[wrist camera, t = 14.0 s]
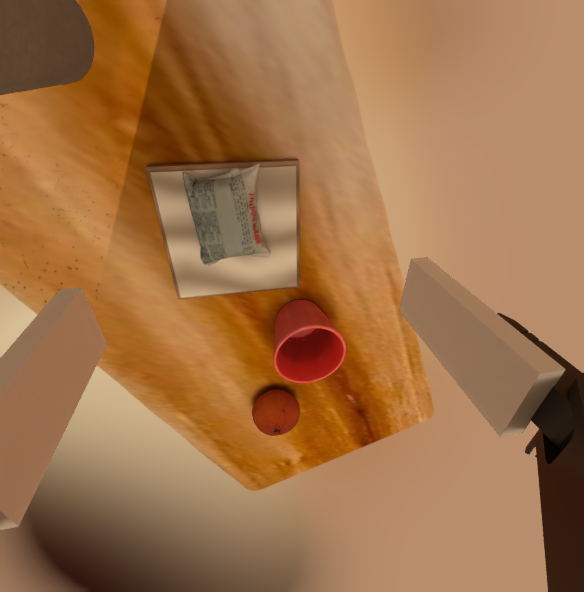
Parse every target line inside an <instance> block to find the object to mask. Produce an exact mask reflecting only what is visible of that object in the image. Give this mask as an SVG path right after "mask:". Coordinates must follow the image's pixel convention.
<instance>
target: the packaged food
mask: <svg viewBox="0 0 584 592" xmlns="http://www.w3.org/2000/svg"><path fill="white" fill-rule="evenodd" d="M259 165H260V164H257V165H255V166H253V167H250V168H247V169H244V170H242V171H238V170H239V169H237V168H233V169H232V170H230V171H229V172H227V173H223V174H219V175H216V176H213V177H209V178H201V179H200V180H197V179H196V178H195V177H194V176H193V175H191V174H189V173H187V171H186V172H183V181H184V186H185V191H186V194H187V198H188V202H189V207H190V210H191V214H192V217H193V221H194V224H195V226H196V233H197V237H198V241H199V244H200V246H201V248H200V258H201V260H202V262H203V263H204V264H205V265H206V264H207V265H208V266H210V265H212V264H214V263H217V262H218V261H219V260H221V259H224V258H229V257H237V256H254V257H261V258H270V255H271V253H270V250H269V249H268V247H267V245H266V244H265V242H264V241H263V240H262V238H263V237H262V232H261V223H260V217H259V214H258V211H257V201H258V198H257V188H256V182H257V175H258V169H259Z"/></svg>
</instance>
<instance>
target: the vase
mask: <svg viewBox="0 0 584 592" xmlns="http://www.w3.org/2000/svg"><path fill="white" fill-rule="evenodd" d="M93 57H94V40H93V35H92V31H91V27H90V25H89V22H88V20H87V18H86V16H85V14H84V12H83V11H82V9H81V7H80V6H79V4H78V3H77V2H76V1H75V0H0V95H4V94H9V93H14V92H21V91H28V90H33V89H39V88H44V87H49V86H55V85H60V84H66V83H72V82H75V81H78V80H80V79H81V78H83V77H84V76H85V75H86V74H87V73H88V71H89V69H90V68H91V65H92V62H93Z"/></svg>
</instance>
